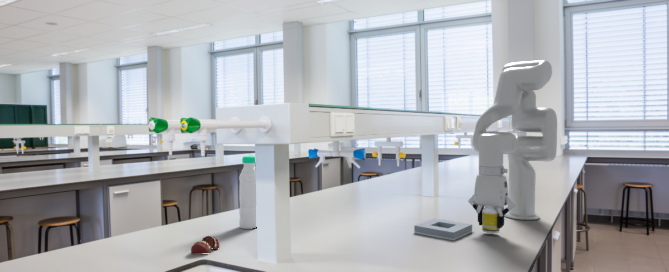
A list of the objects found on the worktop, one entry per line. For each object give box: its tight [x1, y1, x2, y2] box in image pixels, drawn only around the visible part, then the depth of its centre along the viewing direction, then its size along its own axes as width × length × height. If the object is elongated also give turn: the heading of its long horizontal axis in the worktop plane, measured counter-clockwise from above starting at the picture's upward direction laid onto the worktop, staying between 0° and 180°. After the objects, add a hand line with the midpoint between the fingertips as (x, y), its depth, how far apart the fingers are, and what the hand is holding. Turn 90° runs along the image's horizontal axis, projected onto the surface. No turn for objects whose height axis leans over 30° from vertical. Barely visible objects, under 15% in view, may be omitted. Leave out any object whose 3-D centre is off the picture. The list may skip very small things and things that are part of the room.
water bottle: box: [238, 155, 257, 230], centre depth 151 cm, size 7×7×25 cm
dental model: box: [190, 235, 220, 254], centre depth 123 cm, size 6×4×8 cm
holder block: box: [413, 218, 473, 241], centre depth 144 cm, size 14×14×2 cm
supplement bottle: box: [481, 205, 500, 234], centre depth 141 cm, size 5×5×10 cm
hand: (490, 225), depth 141 cm, fingers closed on supplement bottle, 5 cm apart
